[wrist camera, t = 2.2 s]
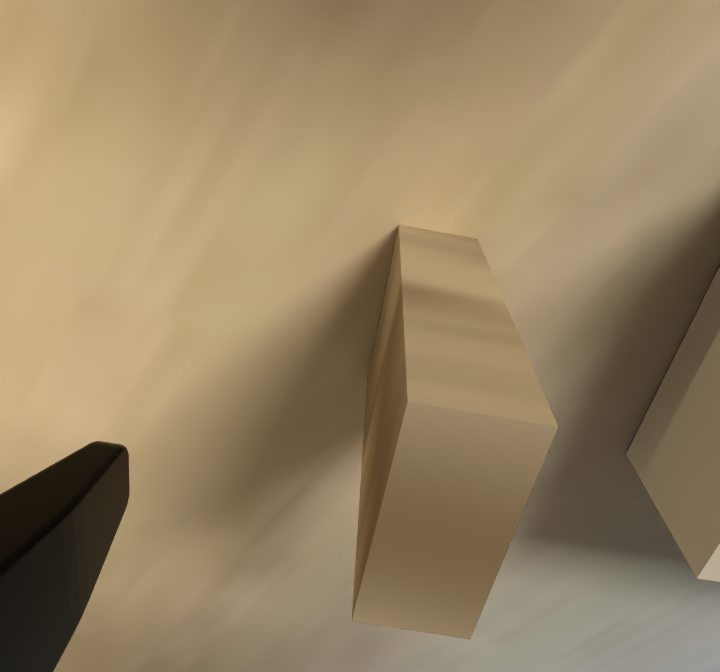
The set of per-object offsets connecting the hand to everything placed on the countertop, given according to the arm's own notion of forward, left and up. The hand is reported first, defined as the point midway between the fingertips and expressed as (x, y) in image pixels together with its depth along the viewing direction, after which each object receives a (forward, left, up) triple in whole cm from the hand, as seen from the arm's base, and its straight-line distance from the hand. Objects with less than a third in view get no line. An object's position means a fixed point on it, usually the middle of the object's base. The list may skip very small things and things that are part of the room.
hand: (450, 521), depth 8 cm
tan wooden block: (0, 0, -7) cm, 7 cm away
